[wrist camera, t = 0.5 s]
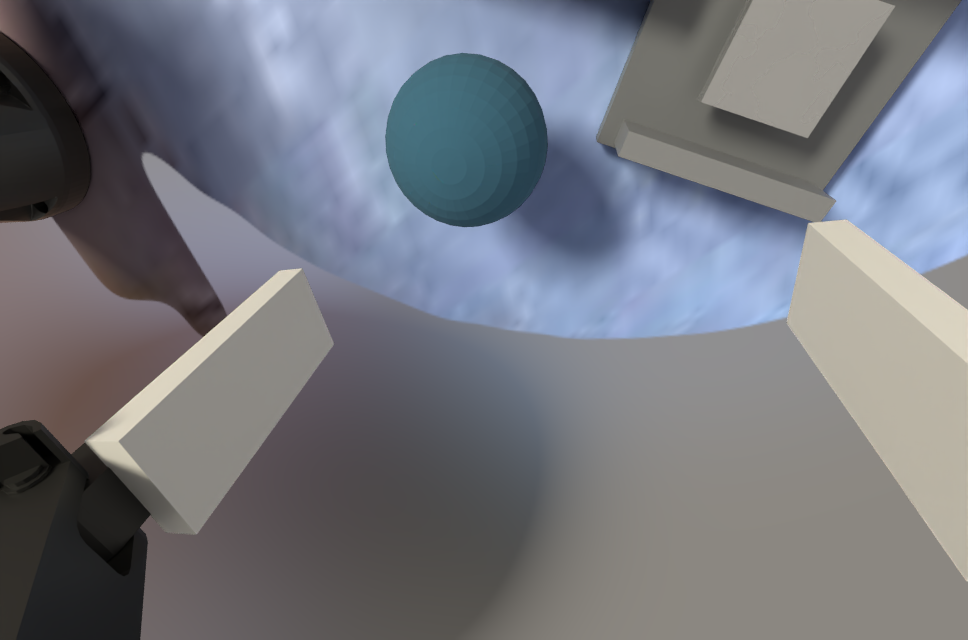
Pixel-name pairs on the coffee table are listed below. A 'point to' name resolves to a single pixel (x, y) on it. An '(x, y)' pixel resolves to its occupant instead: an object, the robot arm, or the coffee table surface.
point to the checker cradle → (734, 138)
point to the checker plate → (791, 59)
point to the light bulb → (466, 140)
